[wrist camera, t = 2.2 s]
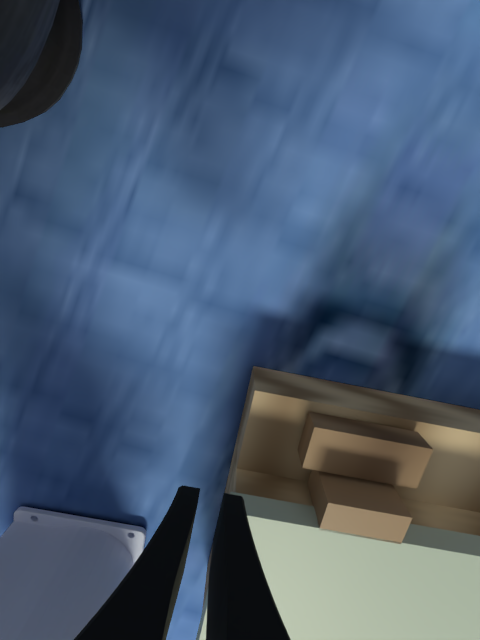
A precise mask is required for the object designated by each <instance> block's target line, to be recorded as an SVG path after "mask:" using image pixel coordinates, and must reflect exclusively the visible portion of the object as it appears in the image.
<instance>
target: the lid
mask: <svg viewBox="0 0 480 640" xmlns="http://www.w3.org/2000/svg"><path fill="white" fill-rule="evenodd" d="M307 485H308V489H309V493H310V497H311V500H312V504H313V506H309V505H303V504H298V503H292V502H286V501H281V500H275V499H270V498H264V497H258V496H253V495H247V494H241V493H236V492H230V494H233V495H238V496H242V497H243V499H244V503H245V508H246V513H247V518H248V522H249V526H250V530H251V533H252V537H253V540H254V544H255V547H256V550H257V553H258V556H259V560H260V563H261V566H262V569H263V572H264V575H265V577H266V580H267V583H268V586H269V588H270V591H271V594H272V596H273V599H274V601H275V604H276V606H277V609H278V611H279V614H280V616H281V619H282V621H283V623H284V626H285V628H286V630H287V632H288V635H289V637H290V639H291V640H480V536H477V535H471V534H466V533H460V532H455V531H449V530H443V529H438V528H432V527H427V526H421V525H415V524H410V523H411V520H412V516H411V514H410V513H409V511H408V510H407V508H406V506H405V505H404V503H403V501H402V500H401V498H400V496H399V495H398V493H397V491H396V490H395V488H394V486H393V485H392V484H387V483H382V482H377V481H371V480H366V479H360V478H355V477H349V476H344V475H338V474H333V473H327V472H322V471H316V470H311V473H310V476H309V479H308V482H307ZM207 603H208V590H207V595H206V599H205V603H204V607H203V612H202V616H201V620H200V624H199V629H198V633H197V637H196V640H206V625H207Z"/></svg>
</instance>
